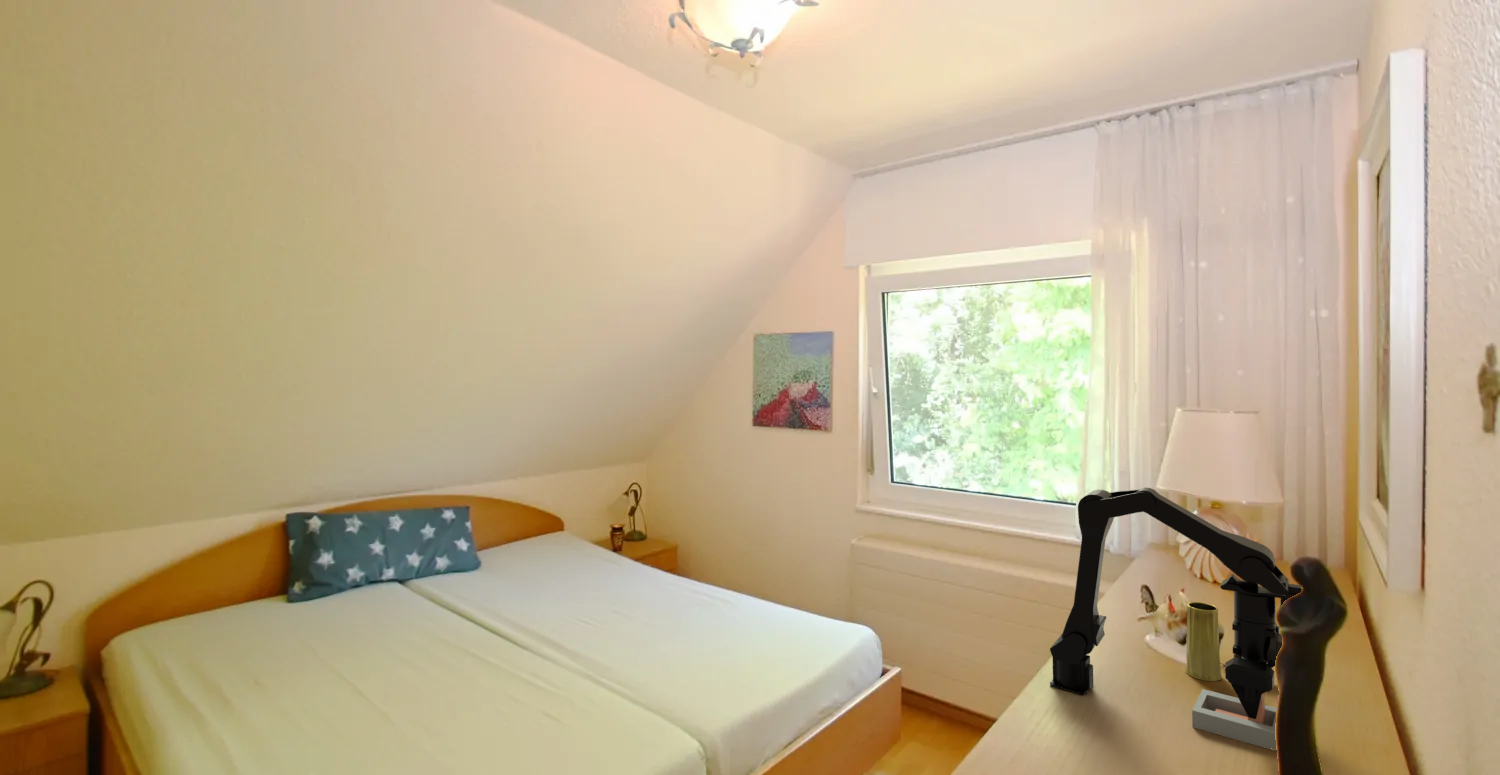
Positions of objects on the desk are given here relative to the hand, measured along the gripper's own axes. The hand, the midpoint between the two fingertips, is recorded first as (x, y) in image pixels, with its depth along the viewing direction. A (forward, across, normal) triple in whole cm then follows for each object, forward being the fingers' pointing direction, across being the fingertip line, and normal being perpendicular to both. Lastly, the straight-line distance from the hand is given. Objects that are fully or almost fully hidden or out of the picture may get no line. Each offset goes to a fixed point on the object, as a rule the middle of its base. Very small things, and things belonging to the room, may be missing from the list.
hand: (1255, 707), depth 115 cm
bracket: (+4, 0, +2) cm, 5 cm away
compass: (+5, +25, +5) cm, 26 cm away
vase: (+4, +19, +10) cm, 22 cm away
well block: (+4, 0, +2) cm, 5 cm away
